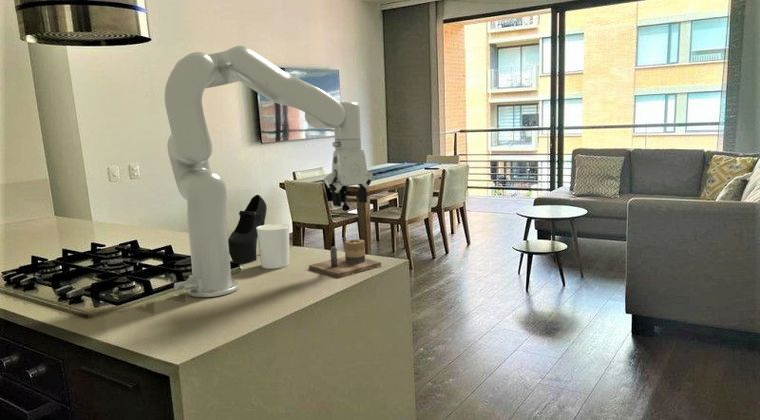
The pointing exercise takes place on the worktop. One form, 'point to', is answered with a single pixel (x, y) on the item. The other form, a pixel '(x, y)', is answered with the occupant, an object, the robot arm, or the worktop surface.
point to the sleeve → (354, 251)
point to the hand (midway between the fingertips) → (350, 204)
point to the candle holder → (273, 245)
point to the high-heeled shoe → (247, 231)
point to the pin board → (342, 265)
